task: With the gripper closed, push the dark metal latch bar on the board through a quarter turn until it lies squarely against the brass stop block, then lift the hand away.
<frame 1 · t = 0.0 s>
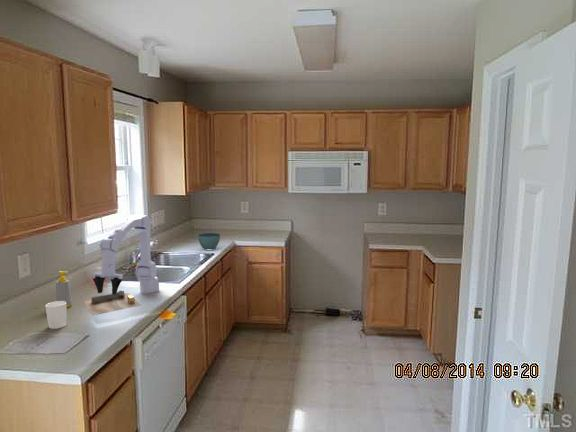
hand: (107, 293, 185), 11 cm above the worktop, tool pointing down, fingers open, 7 cm apart
brass stop: (131, 301, 201), resting on latch board
plant pot: (209, 249, 332), on the worktop
white cup: (57, 326, 175), on the worktop
soap bottle: (64, 306, 199), on the worktop
swing bar: (108, 296, 203), point 3 cm above the worktop, hinge at 0.0°
latch board: (111, 306, 199), on the worktop
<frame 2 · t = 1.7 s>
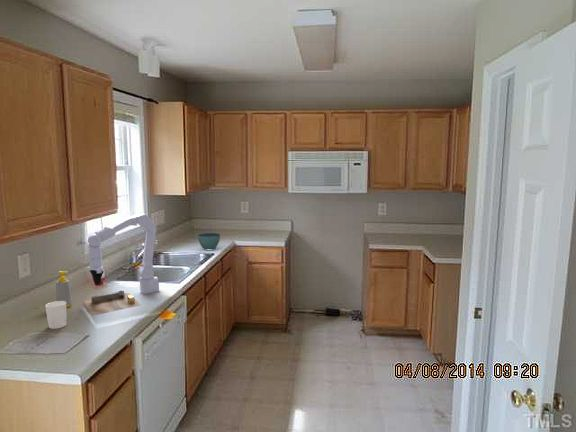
hand: (97, 284, 204), 9 cm above the worktop, tool pointing down, fingers closed
nothing on the worktop moved.
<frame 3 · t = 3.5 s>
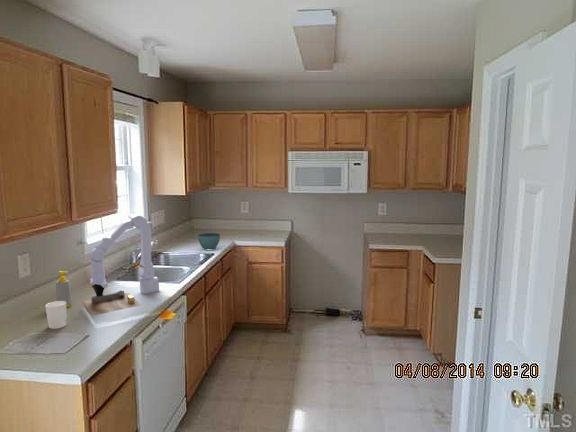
hand: (99, 298, 202), 3 cm above the worktop, tool pointing down, fingers closed, pressing on swing bar
swing bar: (108, 296, 203), point 3 cm above the worktop, hinge at 1.6°, touching gripper
everything else where it was.
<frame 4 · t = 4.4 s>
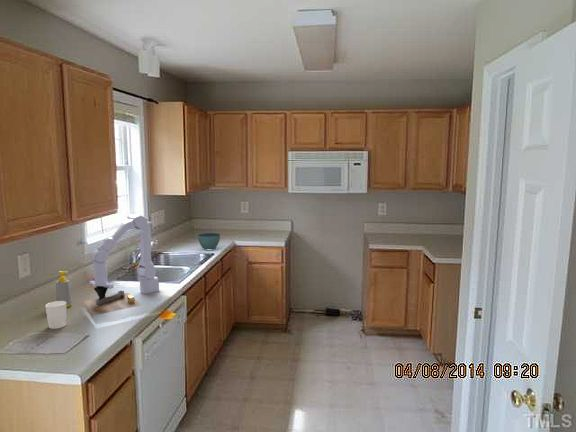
hand: (102, 300, 199), 3 cm above the worktop, tool pointing down, fingers closed
swing bar: (110, 297, 201), point 3 cm above the worktop, hinge at 26.5°, touching gripper
everything else where it was.
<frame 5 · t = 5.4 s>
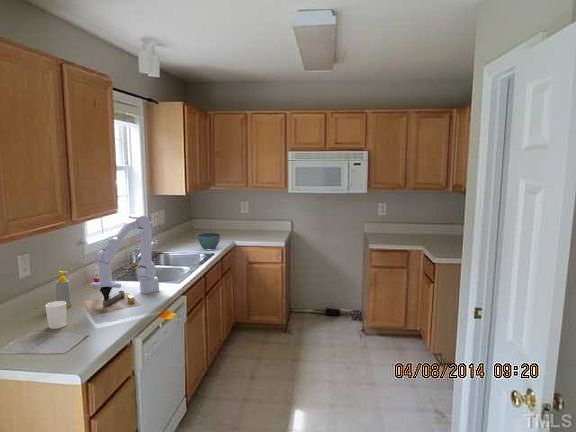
hand: (106, 301, 198), 3 cm above the worktop, tool pointing down, fingers closed, pressing on swing bar
swing bar: (114, 297, 201), point 3 cm above the worktop, hinge at 44.7°, touching gripper
everything else where it was.
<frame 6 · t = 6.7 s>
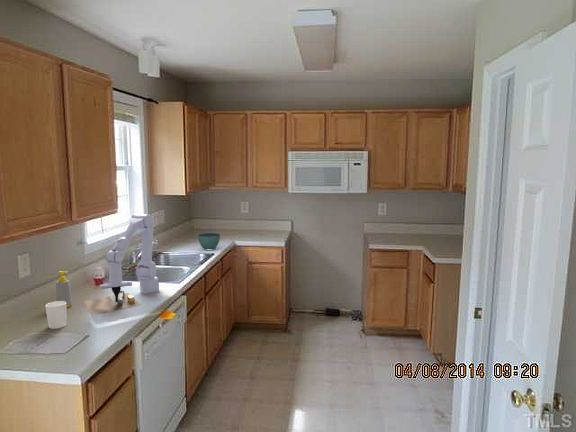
hand: (117, 301, 197), 3 cm above the worktop, tool pointing down, fingers closed, pressing on swing bar
swing bar: (120, 297, 201), point 3 cm above the worktop, hinge at 74.3°, touching gripper
everything else where it was.
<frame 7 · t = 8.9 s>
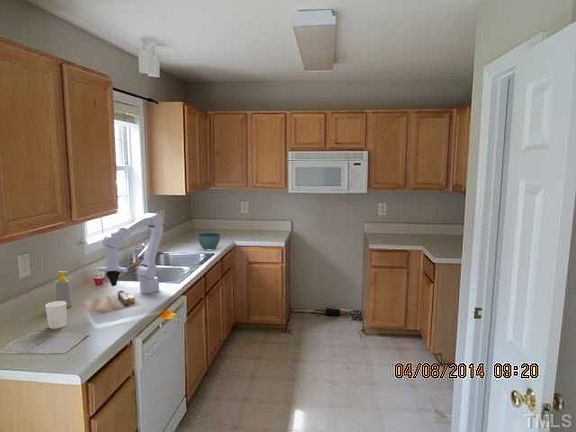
hand: (114, 285, 202), 9 cm above the worktop, tool pointing down, fingers closed
swing bar: (123, 297, 202), point 3 cm above the worktop, hinge at 86.9°
everything else where it was.
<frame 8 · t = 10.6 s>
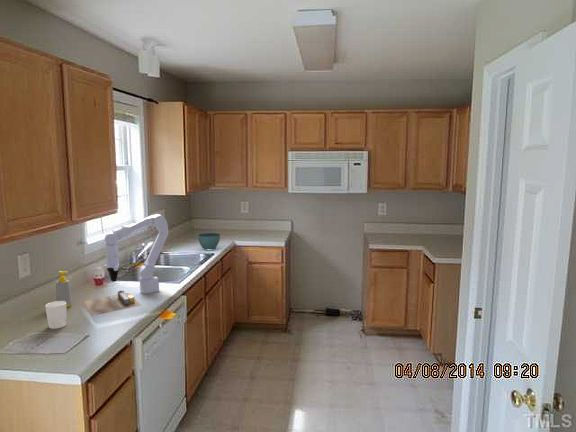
hand: (113, 281, 209), 9 cm above the worktop, tool pointing down, fingers closed
nothing on the worktop moved.
at the end: swing bar at +87° (first picture: +0°) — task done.
